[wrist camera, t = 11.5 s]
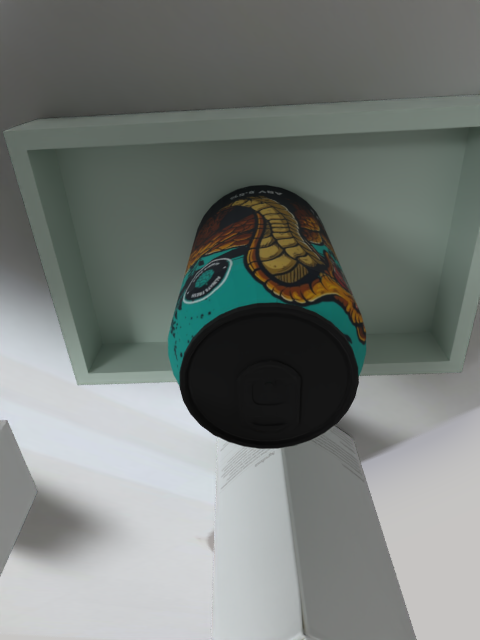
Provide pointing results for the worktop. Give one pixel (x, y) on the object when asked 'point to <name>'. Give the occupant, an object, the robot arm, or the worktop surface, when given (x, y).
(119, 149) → the tray bin
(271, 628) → the skincare box
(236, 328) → the beverage can
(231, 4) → the worktop surface
